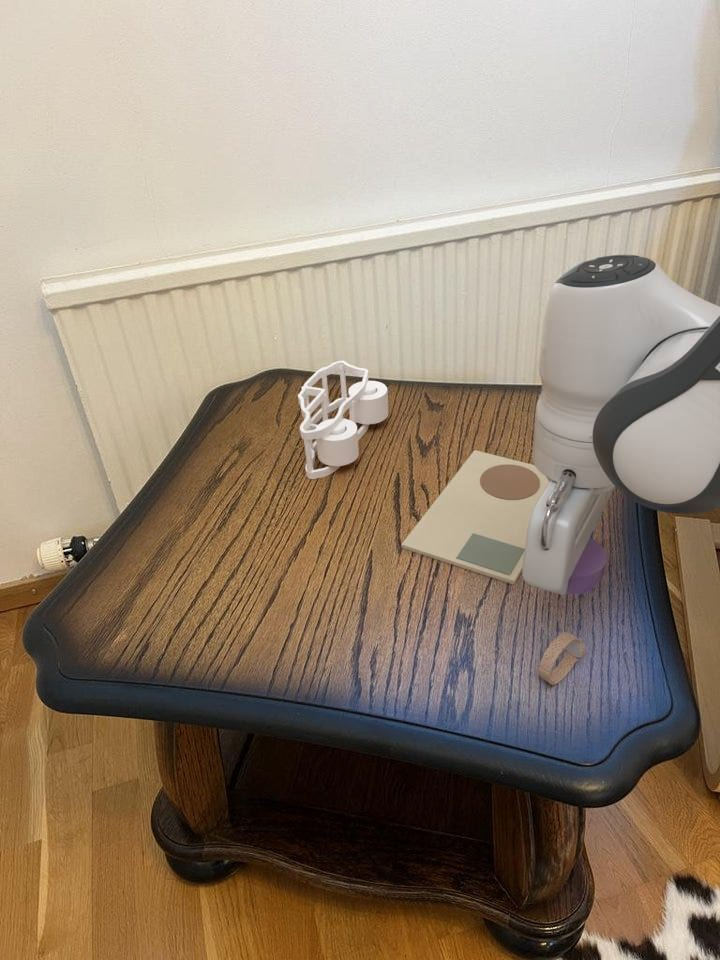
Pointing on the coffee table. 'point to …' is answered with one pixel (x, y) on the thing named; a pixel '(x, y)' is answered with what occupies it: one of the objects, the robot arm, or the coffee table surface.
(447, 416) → the coffee table surface
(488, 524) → the mat
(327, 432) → the car outline toy
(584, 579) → the lavender hockey puck
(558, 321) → the robot arm
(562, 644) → the perforated watch strap
